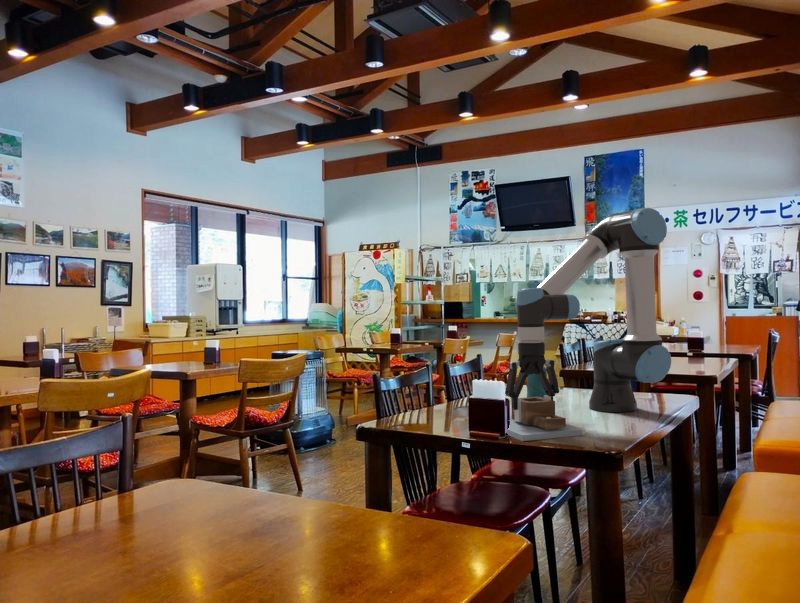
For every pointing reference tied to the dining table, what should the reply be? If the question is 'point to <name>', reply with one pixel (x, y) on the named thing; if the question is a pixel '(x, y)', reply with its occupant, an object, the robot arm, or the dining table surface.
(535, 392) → the beverage bottle
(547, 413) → the stepped wooden block
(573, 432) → the post board
